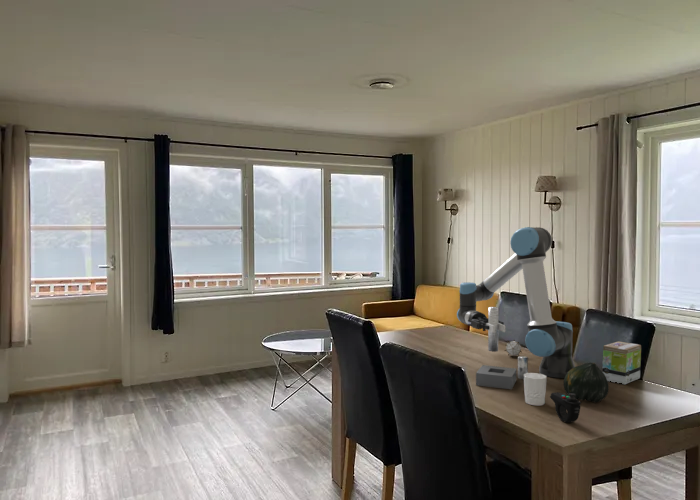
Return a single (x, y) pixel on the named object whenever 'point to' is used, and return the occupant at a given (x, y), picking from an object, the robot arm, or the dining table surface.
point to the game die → (513, 348)
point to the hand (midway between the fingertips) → (499, 329)
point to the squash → (586, 383)
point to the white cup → (535, 388)
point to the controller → (566, 406)
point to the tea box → (621, 362)
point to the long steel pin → (494, 336)
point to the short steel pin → (522, 366)
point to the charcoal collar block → (496, 377)
